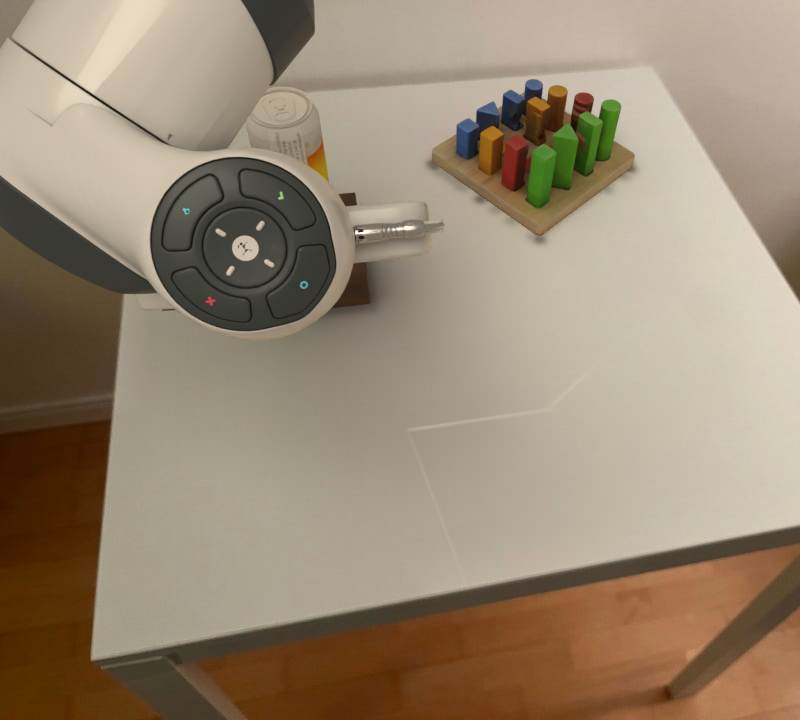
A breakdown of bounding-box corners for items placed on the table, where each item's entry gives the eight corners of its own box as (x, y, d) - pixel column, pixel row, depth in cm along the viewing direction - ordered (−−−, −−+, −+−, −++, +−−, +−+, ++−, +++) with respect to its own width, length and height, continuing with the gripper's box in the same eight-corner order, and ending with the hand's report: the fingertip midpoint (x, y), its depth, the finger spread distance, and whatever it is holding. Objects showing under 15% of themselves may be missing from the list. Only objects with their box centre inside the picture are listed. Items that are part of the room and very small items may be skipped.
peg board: (527, 99, 95) (535, 38, 88) (634, 166, 89) (651, 106, 82) (429, 160, 88) (429, 98, 81) (538, 237, 81) (548, 177, 74)
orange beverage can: (327, 208, 75) (307, 78, 63) (343, 249, 72) (325, 121, 60) (268, 221, 74) (235, 90, 61) (281, 264, 70) (250, 135, 58)
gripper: (443, 173, 45) (420, 186, 59) (90, 205, 42) (151, 211, 55) (454, 275, 47) (429, 265, 60) (111, 314, 43) (166, 295, 57)
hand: (293, 240), depth 58 cm, fingers open, 8 cm apart
